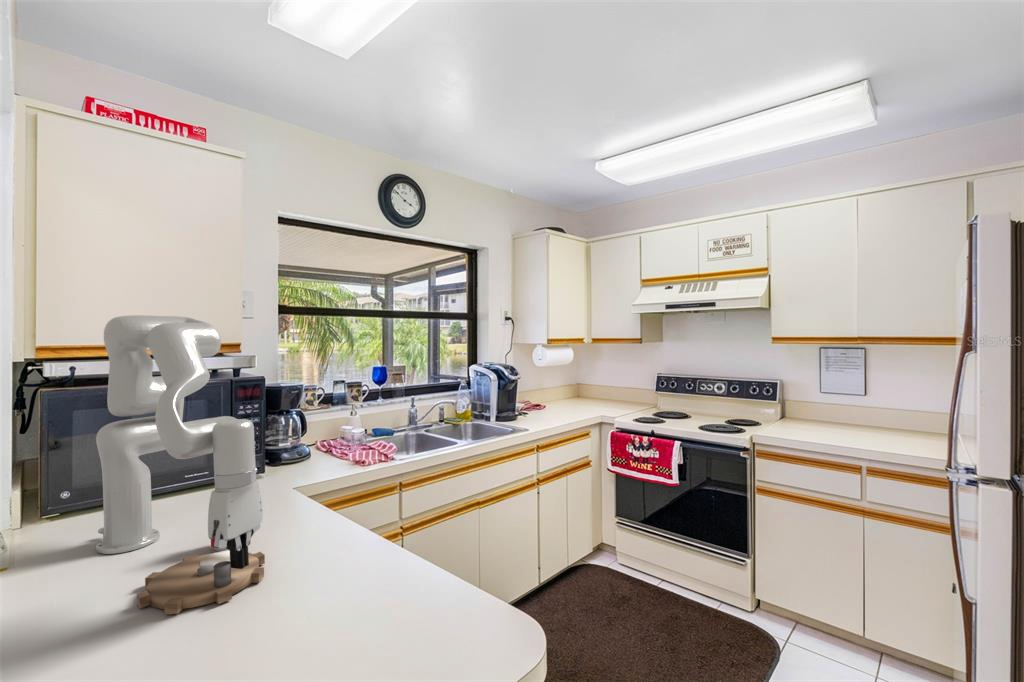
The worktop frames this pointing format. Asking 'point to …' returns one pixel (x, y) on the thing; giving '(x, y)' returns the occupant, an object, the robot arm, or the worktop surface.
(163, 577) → the index wheel
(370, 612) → the worktop surface
